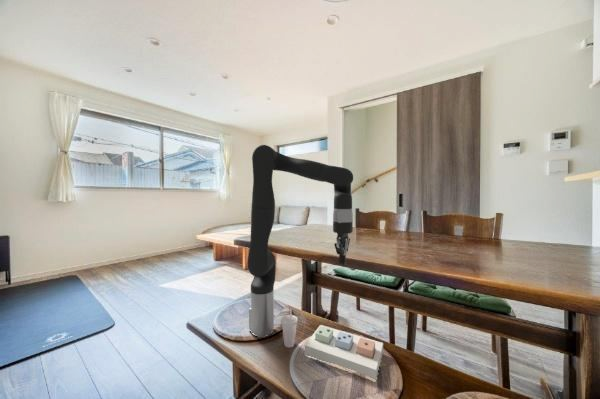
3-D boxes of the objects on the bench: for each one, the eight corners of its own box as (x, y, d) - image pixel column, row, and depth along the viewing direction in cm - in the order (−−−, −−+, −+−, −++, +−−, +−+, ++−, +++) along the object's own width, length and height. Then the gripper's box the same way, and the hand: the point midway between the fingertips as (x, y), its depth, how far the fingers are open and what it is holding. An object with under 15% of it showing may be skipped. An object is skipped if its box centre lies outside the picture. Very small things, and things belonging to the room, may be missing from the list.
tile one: (356, 363, 77) (356, 345, 77) (360, 353, 82) (360, 337, 81) (372, 368, 75) (372, 350, 75) (374, 358, 79) (375, 341, 79)
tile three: (335, 355, 81) (335, 338, 80) (339, 347, 85) (339, 331, 85) (349, 360, 78) (349, 343, 78) (353, 351, 83) (353, 335, 82)
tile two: (315, 348, 84) (315, 332, 84) (320, 340, 88) (320, 325, 88) (328, 353, 82) (328, 336, 82) (333, 345, 86) (333, 329, 86)
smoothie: (295, 351, 84) (295, 313, 83) (278, 348, 85) (278, 311, 84) (299, 340, 90) (299, 304, 89) (283, 337, 91) (283, 302, 91)
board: (304, 356, 81) (304, 345, 81) (320, 334, 93) (320, 324, 93) (376, 382, 70) (376, 369, 70) (383, 354, 82) (383, 342, 82)
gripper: (338, 217, 98) (338, 258, 99) (327, 221, 87) (327, 267, 87) (356, 218, 95) (356, 261, 95) (347, 222, 83) (346, 270, 84)
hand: (342, 264), depth 91 cm, fingers closed
